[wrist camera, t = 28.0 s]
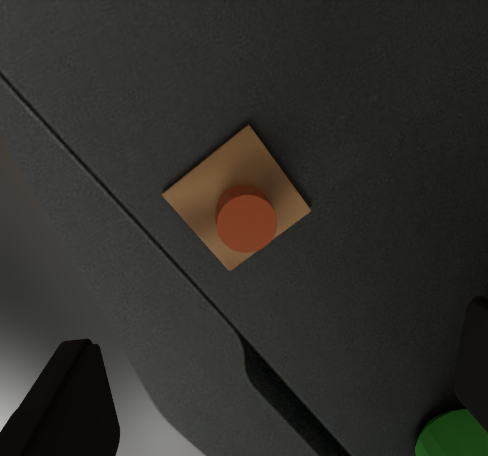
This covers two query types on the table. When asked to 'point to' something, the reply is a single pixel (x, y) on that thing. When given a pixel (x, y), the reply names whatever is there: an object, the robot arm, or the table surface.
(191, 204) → the coaster
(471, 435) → the bottle
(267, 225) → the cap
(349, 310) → the table surface
